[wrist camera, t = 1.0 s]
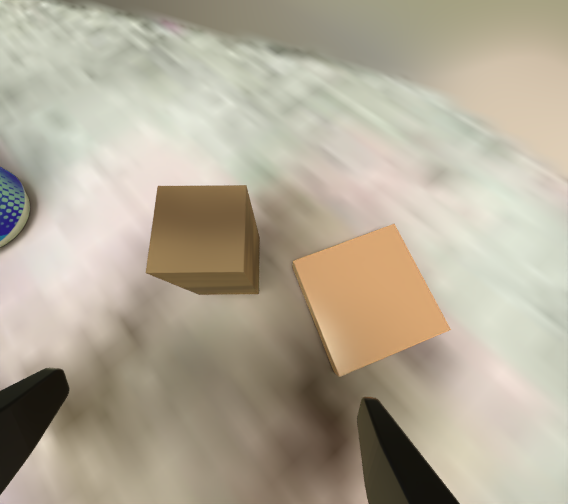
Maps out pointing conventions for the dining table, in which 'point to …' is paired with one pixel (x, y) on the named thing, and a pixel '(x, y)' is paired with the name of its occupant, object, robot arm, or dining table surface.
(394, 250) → the terracotta tile
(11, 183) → the beer can
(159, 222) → the walnut block
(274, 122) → the dining table surface
